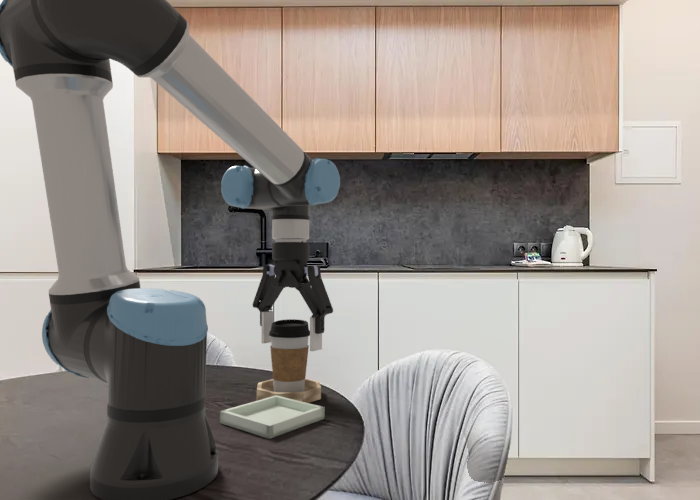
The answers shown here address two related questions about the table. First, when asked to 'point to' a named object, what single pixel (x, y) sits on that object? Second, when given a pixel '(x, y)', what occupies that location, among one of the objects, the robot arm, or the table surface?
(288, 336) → the coffee cup
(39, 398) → the table surface
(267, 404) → the tray
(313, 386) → the holder ring
